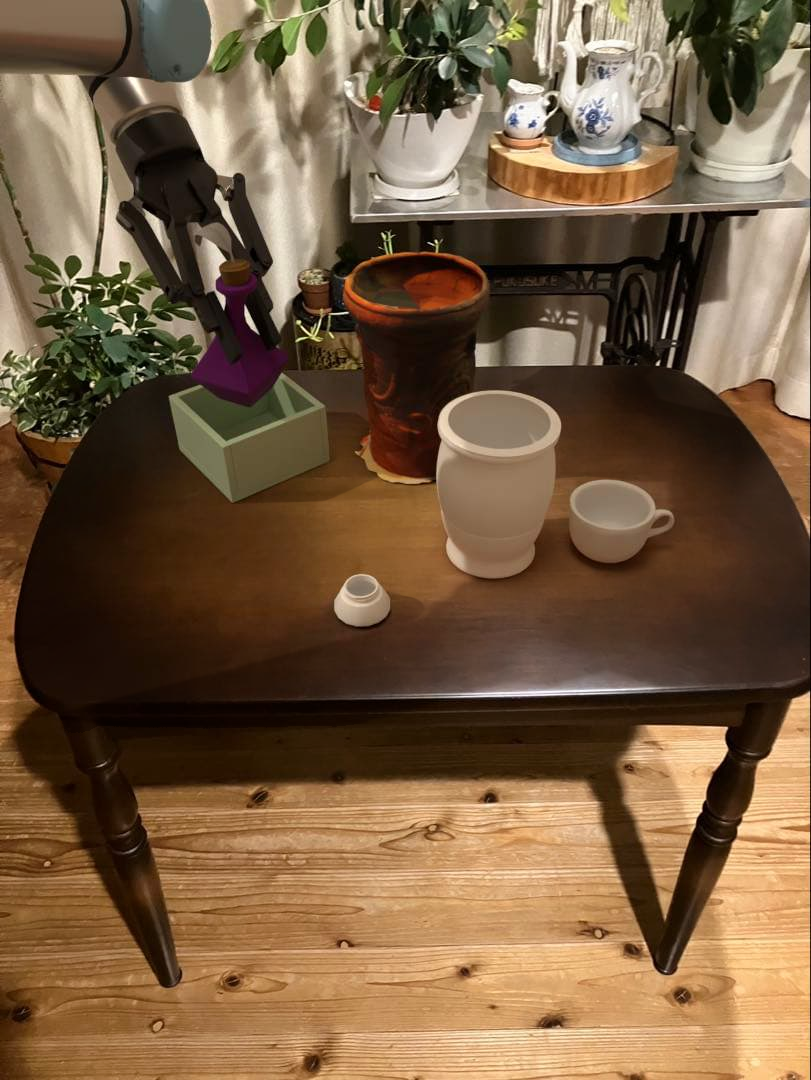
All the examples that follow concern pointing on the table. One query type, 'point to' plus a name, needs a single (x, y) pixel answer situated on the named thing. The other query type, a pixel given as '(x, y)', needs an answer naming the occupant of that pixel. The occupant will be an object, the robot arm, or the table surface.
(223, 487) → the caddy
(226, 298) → the perfume bottle
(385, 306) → the vessel
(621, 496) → the teacup
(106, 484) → the table surface
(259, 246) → the robot arm
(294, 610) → the table surface
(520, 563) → the jar
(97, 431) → the table surface
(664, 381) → the table surface
